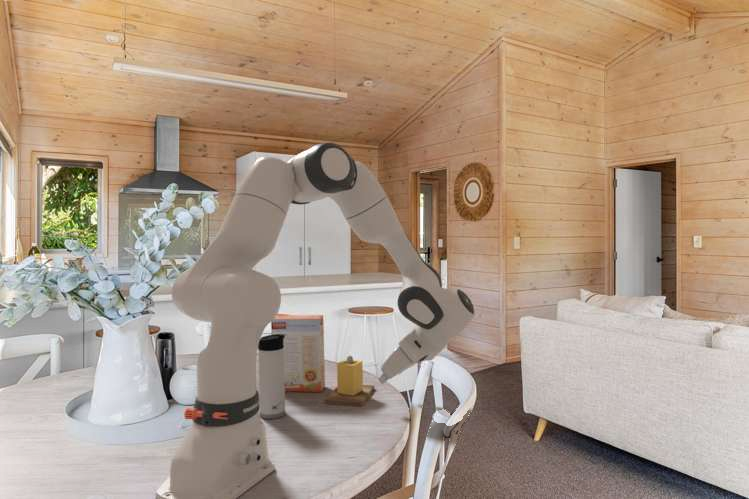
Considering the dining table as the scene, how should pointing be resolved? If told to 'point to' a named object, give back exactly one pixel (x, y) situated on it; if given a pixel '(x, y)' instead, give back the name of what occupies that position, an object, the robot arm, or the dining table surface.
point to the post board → (350, 399)
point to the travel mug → (271, 376)
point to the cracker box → (302, 351)
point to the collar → (349, 377)
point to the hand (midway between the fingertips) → (389, 376)
